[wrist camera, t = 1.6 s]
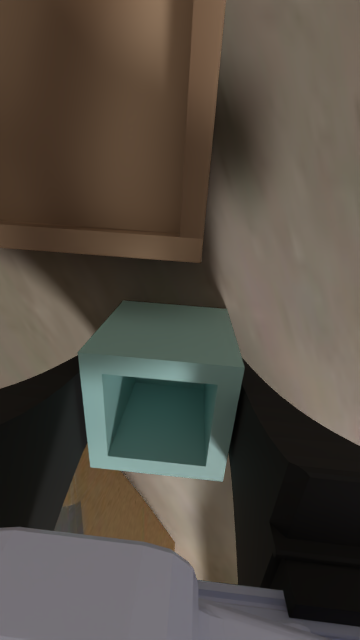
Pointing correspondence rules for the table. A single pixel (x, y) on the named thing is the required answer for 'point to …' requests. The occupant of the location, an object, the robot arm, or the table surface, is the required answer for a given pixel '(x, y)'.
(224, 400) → the box
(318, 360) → the table surface
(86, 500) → the sandwich container
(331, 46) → the table surface
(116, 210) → the walnut crate
